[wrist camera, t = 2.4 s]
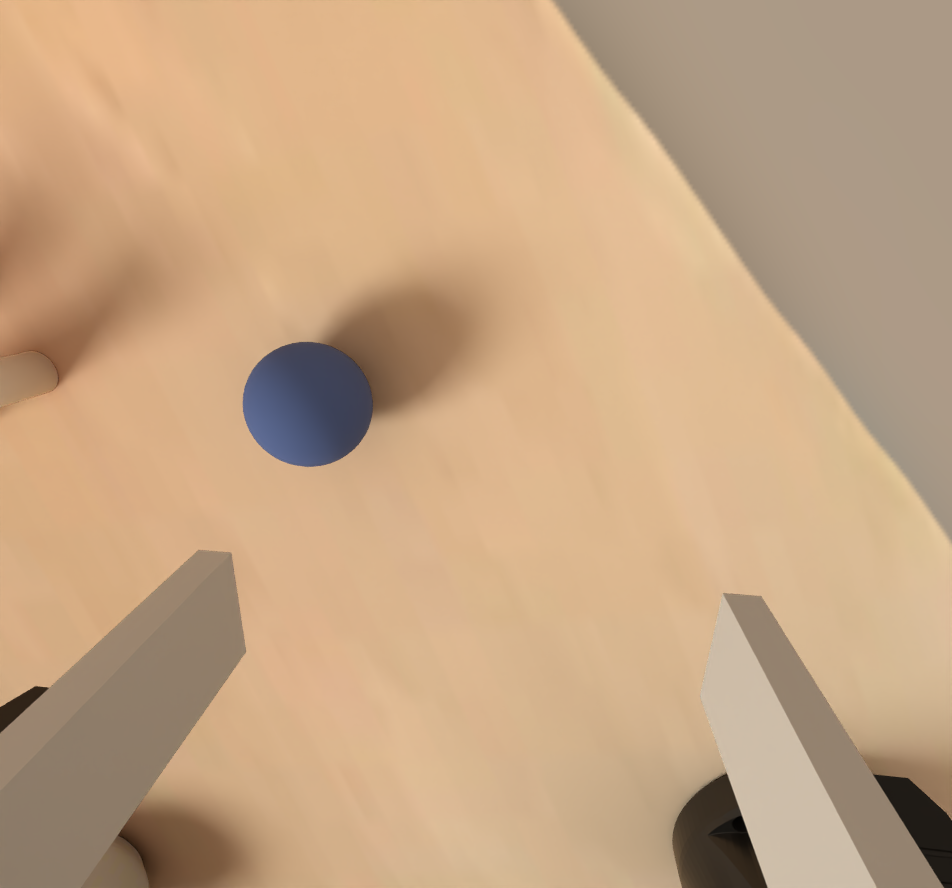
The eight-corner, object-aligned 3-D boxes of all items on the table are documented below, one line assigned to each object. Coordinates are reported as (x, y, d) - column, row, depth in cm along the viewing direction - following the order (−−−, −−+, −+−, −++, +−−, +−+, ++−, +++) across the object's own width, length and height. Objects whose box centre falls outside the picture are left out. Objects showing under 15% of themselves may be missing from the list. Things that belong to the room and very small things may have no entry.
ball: (384, 335, 28) (346, 359, 23) (387, 444, 30) (354, 491, 25) (271, 329, 29) (207, 352, 23) (282, 438, 31) (226, 482, 25)
